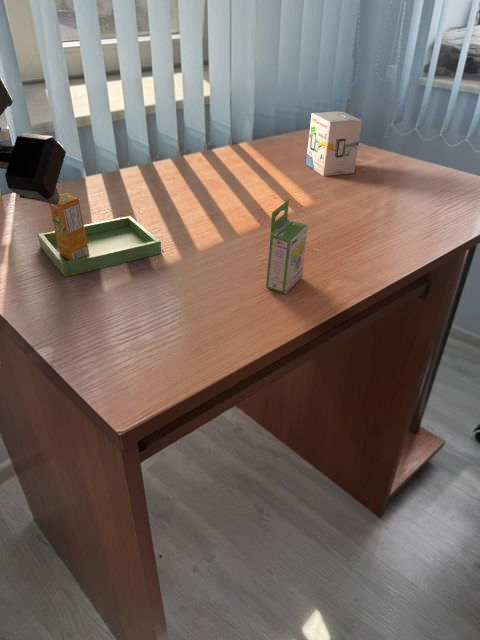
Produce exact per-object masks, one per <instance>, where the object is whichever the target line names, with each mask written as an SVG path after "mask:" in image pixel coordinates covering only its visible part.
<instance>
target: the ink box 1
mask: <svg viewBox="0 0 480 640" xmlns="http://www.w3.org/2000/svg"><path fill="white" fill-rule="evenodd" d="M289 205H290V199H287V200H286V201H285V202H284V203H282V204H281V205H280V206H278V207H277V208H276V209H274V210H273V211H272V212H271V219H270V233H269V238H268V239H269V242H268V243H269V246H268V255H267V268H266V278H265V279H266V280H265V288H266V289H269V290H272V291H274V292H278V293H280V294H283V295H286V294H288V292H289V291H291V289H292V288H293V287H295V285H296V284H297V283H298V282H299V281H300V280H301V279H302V278H303V273H304V265H305V255H306V247H307V238H308V231H309V230H308V229H309V226H308V224H306V223H305V224H304V223H302V222H298V221H294V220H290V219H288V217H289V216H288V215H289ZM282 211H284V212H283V214H282V215H281V216H280V217H278V215H279V214H280V213H281V212H282ZM277 217H278V218H277ZM276 218H277V219H276Z"/></svg>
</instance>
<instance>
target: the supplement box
mask: <svg viewBox="0 0 480 640" xmlns="http://www.w3.org/2000/svg"><path fill="white" fill-rule="evenodd" d="M59 196H60V199H59V202H58V205H55V204H50V203H48V205H49V209H50V210H49V211H50V214H51V219H52V224H53V229H54V231H55V234H56V239H57V243H58V247H59V252H60V255H61V256H62V258H63V259H64V260H65V261H70V260H74V259H78V258H83V257H87V256H90V255H89V250H88V244H87V239H86V234H85V229H84V225H85V224H84V220H83V219H84V218H83V213H82V208H81V203H80V199H79V197H74V196H73V195H71V194H69V193H67V192H64V193H61V194H59Z"/></svg>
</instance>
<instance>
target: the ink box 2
mask: <svg viewBox="0 0 480 640" xmlns="http://www.w3.org/2000/svg"><path fill="white" fill-rule="evenodd" d="M362 125H363V120H362V119H360V118H358V117H356V116H354V115H352V114H349V113H347V112H345V111H342V110H341V111H326V112H311V115H310V126H309V134H308V141H307V142H308V143H307V151H306V161H305V165H306V166H308V167H309V168H311V169H312V170H313V171H314V172H316V173H318V174H319V175H321V176H322V177H328V176H339V175H347V174H348V175H349V174H354V173H355V168H356V163H357V156H358V151H359V143H360V137H361V133H362V132H361V131H362Z"/></svg>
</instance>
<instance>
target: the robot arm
mask: <svg viewBox="0 0 480 640" xmlns="http://www.w3.org/2000/svg"><path fill="white" fill-rule="evenodd" d="M13 103H14V99H13V98H12V96H11V94H10V92H9V90H8V88H7V87H6V84H5V83H4V81H3V79H2V77H1V76H0V117H1V116H2V115H3V113H4V112H5V111H6V110H7V109H8V107H11V106H12V104H13ZM1 132H2V127H1V126H0V133H1ZM66 154H67V151H66V149H65V148H64V146H63V145H62V144H61V143H60V142H59V141H58V139H57V138H55V137H54V136H52V135H45V134H34V133H26V132H25V133H22V134H19V135H16V138H15V142H14V145H11V144H1V143H0V169H3V170H6V171H5V174H4V177H5V181H6V186H7V189H9V190H10V191H11V192H12V193H14V194H16V195H19V196H18V197H19V198H20V199H24V200H29V201H35V202H39V203H44V204H49V203H50V204H55V205H58V202H59V199H60V196H59V195H60V193H59V190H58V188H57V185H58V182H59V178H60V174H61V171H62V168H63V164H64V161H65V156H66Z"/></svg>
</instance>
